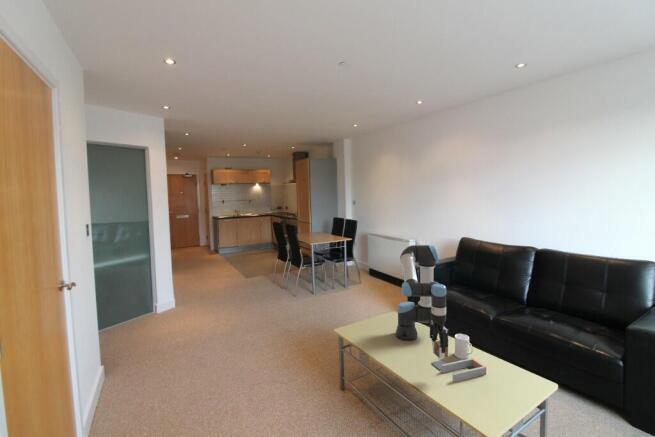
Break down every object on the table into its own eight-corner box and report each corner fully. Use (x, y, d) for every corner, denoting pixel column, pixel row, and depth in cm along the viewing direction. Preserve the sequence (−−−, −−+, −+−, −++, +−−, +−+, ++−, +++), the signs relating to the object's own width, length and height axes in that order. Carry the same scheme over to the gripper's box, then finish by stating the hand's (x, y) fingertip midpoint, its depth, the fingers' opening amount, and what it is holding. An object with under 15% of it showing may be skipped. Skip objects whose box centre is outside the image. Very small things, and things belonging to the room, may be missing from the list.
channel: (441, 371, 177) (441, 364, 177) (472, 364, 183) (472, 357, 183) (454, 382, 167) (454, 374, 167) (486, 374, 173) (486, 367, 173)
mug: (477, 359, 188) (477, 340, 187) (465, 363, 185) (465, 343, 184) (462, 351, 199) (462, 332, 198) (451, 353, 196) (451, 335, 195)
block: (434, 353, 173) (434, 341, 173) (442, 352, 174) (442, 340, 174) (439, 358, 168) (439, 345, 168) (447, 356, 170) (447, 344, 169)
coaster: (431, 363, 186) (431, 362, 186) (442, 360, 188) (442, 359, 188) (439, 370, 178) (439, 369, 178) (451, 367, 181) (451, 366, 180)
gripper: (422, 308, 177) (422, 348, 179) (443, 321, 159) (443, 365, 161) (434, 306, 179) (434, 346, 181) (456, 318, 162) (455, 362, 163)
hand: (438, 355), depth 171 cm, fingers closed on block, 5 cm apart
